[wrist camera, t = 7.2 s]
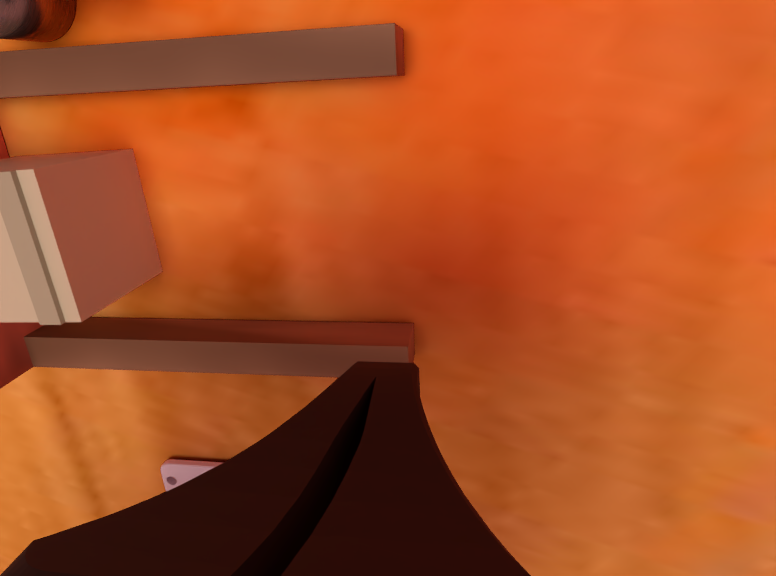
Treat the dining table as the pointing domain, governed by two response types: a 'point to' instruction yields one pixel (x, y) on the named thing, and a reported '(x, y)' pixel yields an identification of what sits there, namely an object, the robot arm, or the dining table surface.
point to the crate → (72, 235)
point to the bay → (203, 336)
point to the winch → (35, 19)
